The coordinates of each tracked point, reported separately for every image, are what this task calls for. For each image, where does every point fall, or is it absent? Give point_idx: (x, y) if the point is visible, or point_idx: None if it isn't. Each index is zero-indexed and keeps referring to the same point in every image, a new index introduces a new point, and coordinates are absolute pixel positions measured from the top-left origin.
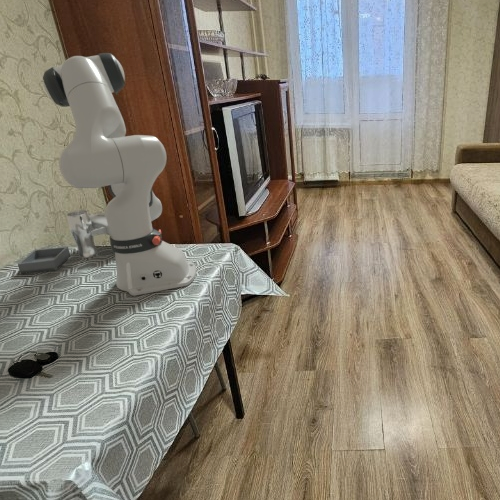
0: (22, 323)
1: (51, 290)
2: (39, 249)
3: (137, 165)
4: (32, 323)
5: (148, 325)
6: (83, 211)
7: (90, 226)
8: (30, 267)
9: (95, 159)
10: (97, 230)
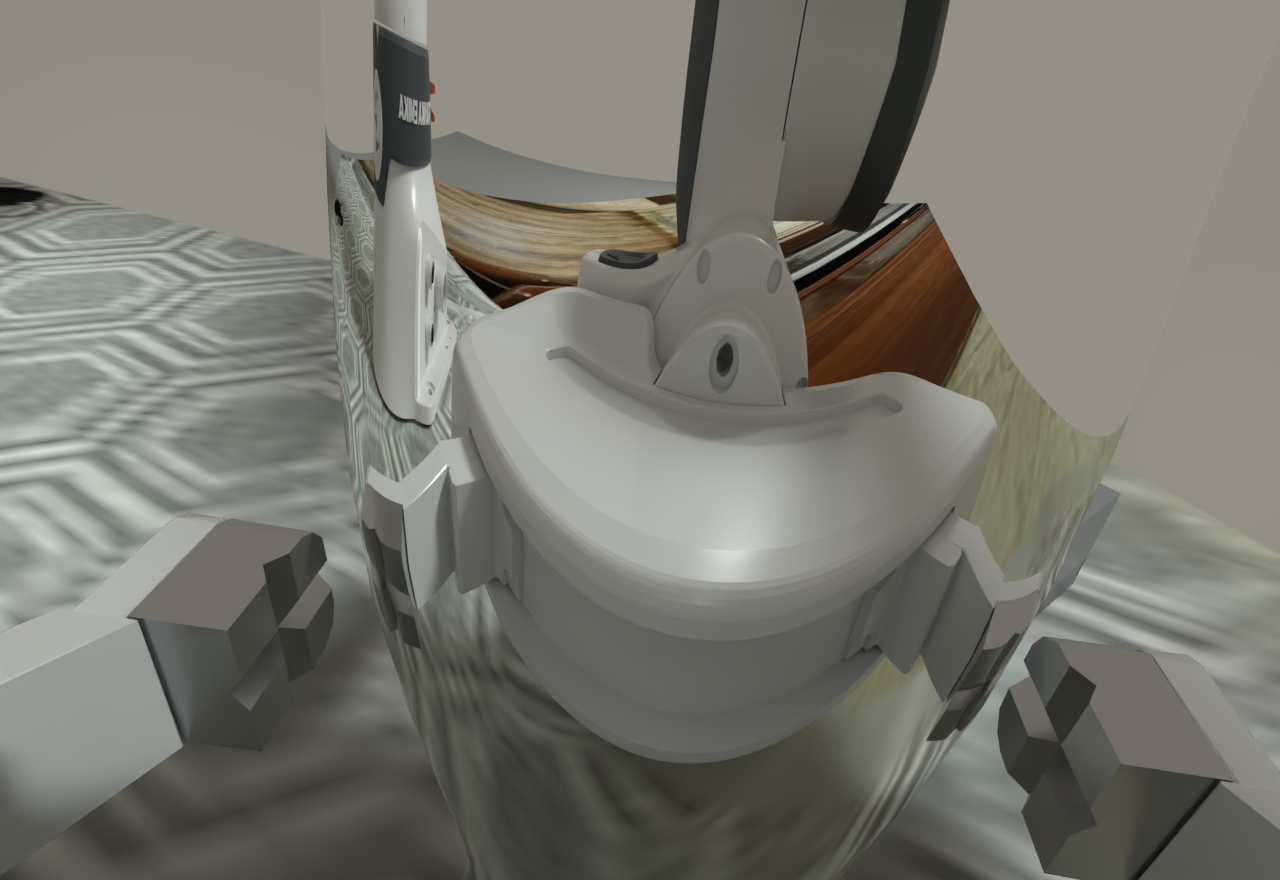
0: (208, 259)
1: (307, 378)
2: (1092, 511)
3: None
4: (150, 263)
5: None
6: (1073, 73)
7: (365, 548)
8: None
9: None
10: (31, 642)
